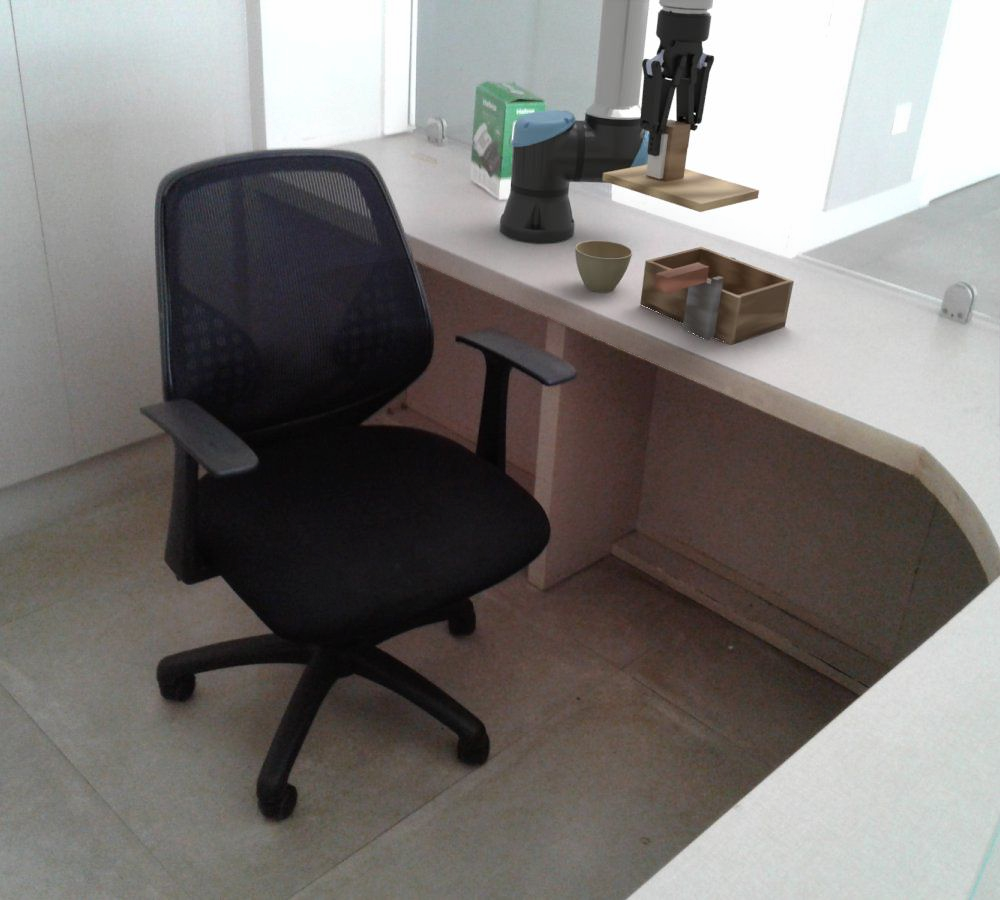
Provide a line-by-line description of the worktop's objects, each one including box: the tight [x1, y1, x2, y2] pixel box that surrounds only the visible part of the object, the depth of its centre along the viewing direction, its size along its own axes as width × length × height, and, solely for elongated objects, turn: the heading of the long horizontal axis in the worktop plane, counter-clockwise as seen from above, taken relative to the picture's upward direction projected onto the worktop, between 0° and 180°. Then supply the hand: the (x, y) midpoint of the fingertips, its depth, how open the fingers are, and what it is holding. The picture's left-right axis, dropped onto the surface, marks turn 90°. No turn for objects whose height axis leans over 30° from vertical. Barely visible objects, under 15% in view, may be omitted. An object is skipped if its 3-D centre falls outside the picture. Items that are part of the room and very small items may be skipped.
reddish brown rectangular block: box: [654, 262, 709, 294], centre depth 162 cm, size 2×10×2 cm, turn 129°
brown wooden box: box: [640, 246, 795, 346], centre depth 174 cm, size 20×16×10 cm
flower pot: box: [574, 240, 633, 293], centre depth 185 cm, size 10×10×7 cm
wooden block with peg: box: [602, 119, 760, 213], centre depth 157 cm, size 19×13×9 cm
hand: (664, 174), depth 160 cm, fingers closed on wooden block with peg, 4 cm apart
